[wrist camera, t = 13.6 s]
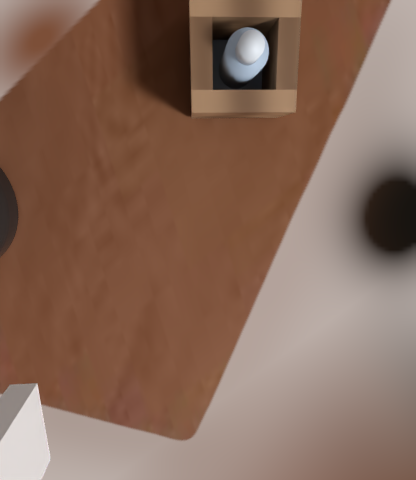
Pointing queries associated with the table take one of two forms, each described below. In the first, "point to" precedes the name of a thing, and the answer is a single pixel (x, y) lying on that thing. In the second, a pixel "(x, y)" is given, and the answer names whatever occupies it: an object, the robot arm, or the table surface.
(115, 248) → the table surface
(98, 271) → the table surface
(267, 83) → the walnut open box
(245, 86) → the pale blue pawn
